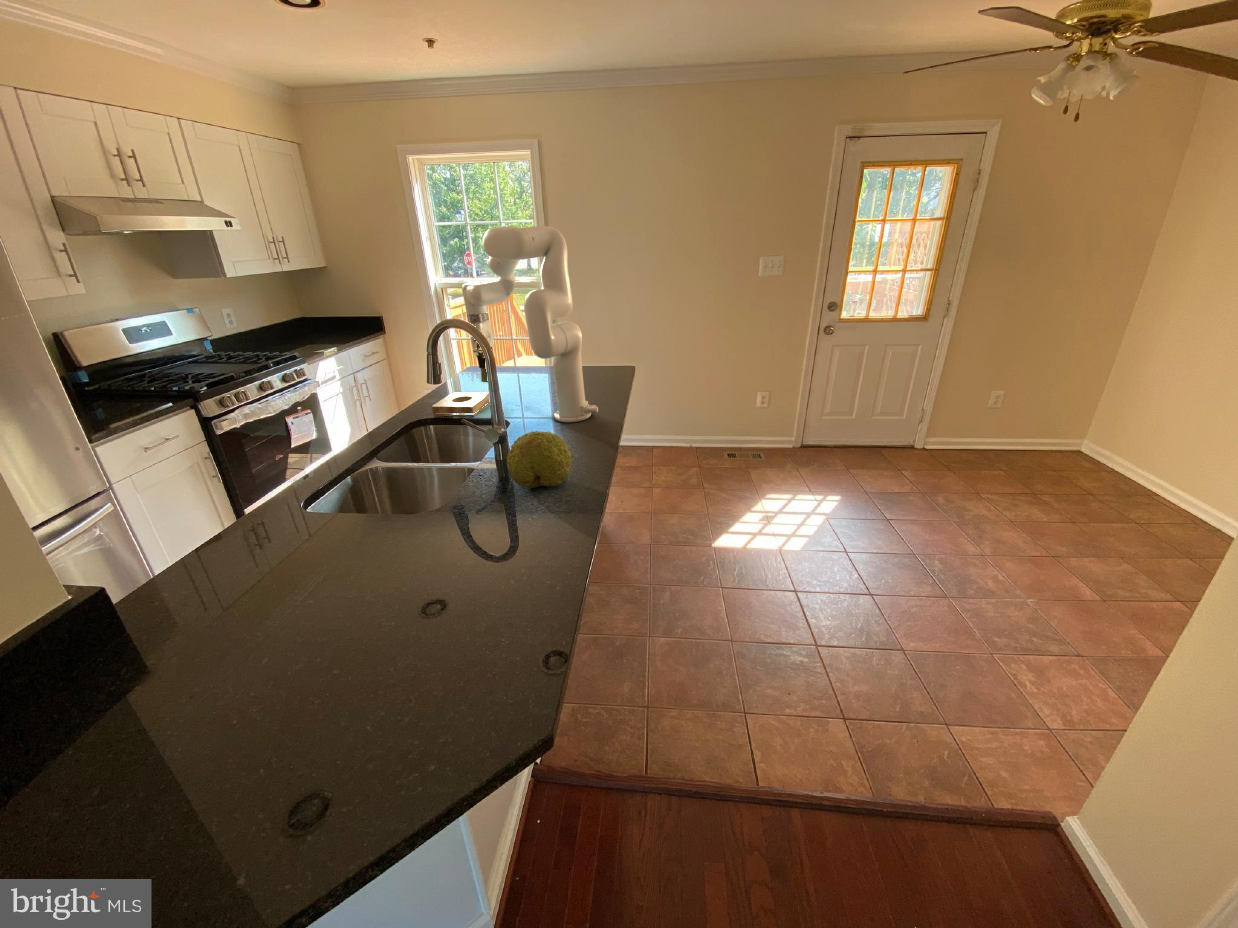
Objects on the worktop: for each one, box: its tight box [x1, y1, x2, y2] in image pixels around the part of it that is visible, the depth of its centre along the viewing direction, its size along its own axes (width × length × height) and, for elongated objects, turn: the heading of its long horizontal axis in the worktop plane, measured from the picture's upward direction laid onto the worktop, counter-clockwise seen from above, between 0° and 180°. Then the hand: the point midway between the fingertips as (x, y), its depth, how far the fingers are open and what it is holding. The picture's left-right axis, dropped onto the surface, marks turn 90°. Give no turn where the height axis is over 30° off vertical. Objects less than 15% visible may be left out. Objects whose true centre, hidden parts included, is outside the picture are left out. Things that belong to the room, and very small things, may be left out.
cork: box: [480, 351, 489, 383], centre depth 193 cm, size 6×6×11 cm
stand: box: [431, 391, 491, 418], centre depth 184 cm, size 16×16×4 cm
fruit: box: [505, 430, 573, 489], centre depth 125 cm, size 16×14×15 cm
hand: (486, 365), depth 193 cm, fingers closed on cork, 5 cm apart
